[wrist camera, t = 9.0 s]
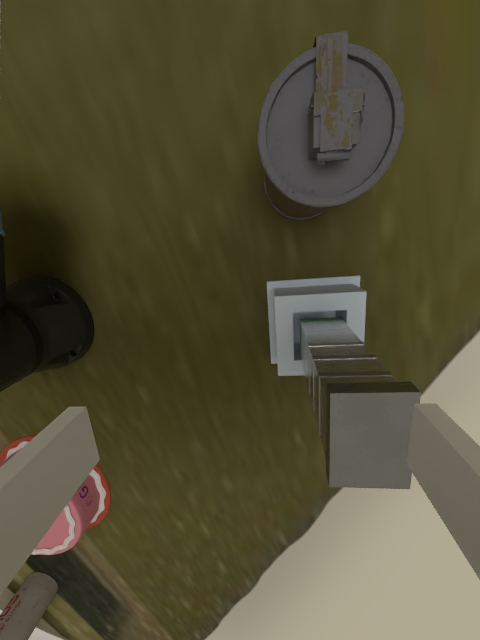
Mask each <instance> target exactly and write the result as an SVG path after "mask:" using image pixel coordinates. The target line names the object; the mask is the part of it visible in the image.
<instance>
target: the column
mask: <svg viewBox="0 0 480 640" xmlns="http://www.w3.org/2000/svg"><path fill="white" fill-rule="evenodd" d="M299 323H300V356H301V361H302V365H303V369H304V373H305V377H306V381H307V385H308V392H309V394H310V397H311V401H312V408H313V412H314V414H315V418H316V422H317V426H318V433H319V435H320V438H321V442H322V446H323V450H324V454H325V458H326V474H327V479H328V483H329V487H353V488H355V487H356V488H390V489H410V484H411V474H412V471H411V470H410V468H409V466H408V465H407V463H406V461H407V454H408V446H409V439H410V431H411V424H412V416H413V409H414V404H420V395H421V392H420V391H419V390H418V389H417V388H416V387H415V386H414V385H413V384H412V383H411V382H397V381H396V380H395V379H394V378H393V377H392V374H391V373H390V372H389V371H387V370H386V369H385V368H384V366H383V365H382V364H381V363H380V362H379V361H378V360H377V357H376V356H375V355H373V354H372V353H371V352H370V350H369V349H368V348H367V347H366V346H365V343H364V342H362V341H361V340H360V339H359V338H358V337H357V335H356V334H355V333H354V332H353V331H352V330H351V329H350V327H349V326H348V325H347V324H346V323H345V322H344V320H343V319H342V318H341V317H329V318H307V319H299Z"/></svg>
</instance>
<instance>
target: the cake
mask: <svg viewBox="0 0 480 640" xmlns="http://www.w3.org/2000/svg"><path fill="white" fill-rule="evenodd" d="M35 436H37V435H32V436H25V437H22V438H19V439H16V440H14V441H13V442H11V443H10V444H9V445H7V446H6V448H5V449H4V450H3V451H2V453H1V454H0V467H1V466H3V465H4V464H5V463H6V462H7V461H8V460H9V459H10V458H12V457H13V456H14V455H15V454H16V453H17V452H18V451H20V450H21V449H22V448H23V447H24V446H25V445H26V444H27V443H29V442H30V441H31V440H32V439H33V438H34V437H35ZM110 504H111V491H110V487H109V484H108V481H107V479H106V477H105V475H104V473H103V472H102V470H101V469H100V467H99V466H98V465H97V464H96V465H95V467H94V468H93V470H92V471H91V472H90V474H89V475H88V476H87V478H86V479H85V481H84V482H83V483H82V485H81V486H80V487H79V489H78V490H77V492H76V493H75V494H74V496H73V497H72V498H71V500H70V501H69V503H68V504H67V505H66V507H65V508H64V509H63V511H62V512H61V513H60V515H59V516H58V518H57V519H56V520H55V522H54V523H53V524H52V526H51V527H50V529H49V530H48V531H47V533H46V534H45V535H44V537H43V538H42V540H41V541H40V542H39V544H38V545H37V546H36V548H35V549H34V550H33V552H32V553H31V554H34V555H36V554H41V555H53V554H59V553H62V552H65V551H67V550H69V549H70V548H72V547H73V546H74V545H75V544H76V543H77V542H78V540H79V539H80V538H81V536H82V535H83V533H84V532H85V530H86V529H89V528H91V527H93V526H95V525H97V524H98V523H99V522H101V521H102V520H103V518H104V517H105V516H106V514H107V513H108V511H109V508H110Z"/></svg>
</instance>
